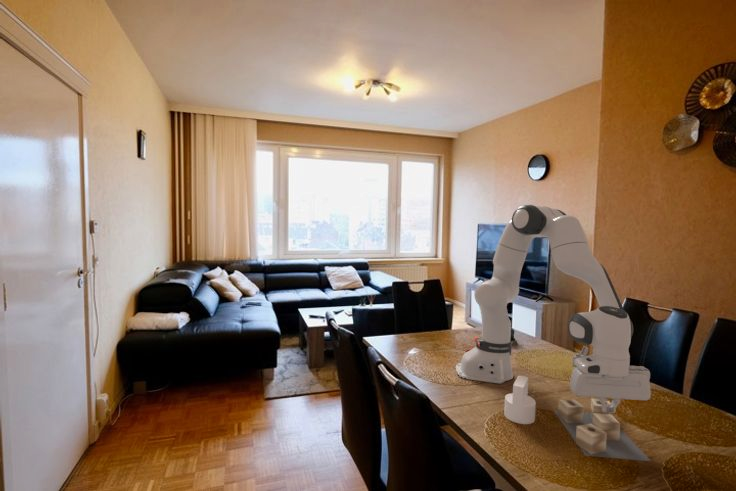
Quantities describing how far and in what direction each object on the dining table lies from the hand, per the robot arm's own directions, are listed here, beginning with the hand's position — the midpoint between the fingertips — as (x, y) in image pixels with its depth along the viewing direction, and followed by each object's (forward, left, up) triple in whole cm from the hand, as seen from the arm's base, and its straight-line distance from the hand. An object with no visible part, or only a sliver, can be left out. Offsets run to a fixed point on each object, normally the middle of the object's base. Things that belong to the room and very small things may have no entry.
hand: (608, 411), depth 108 cm
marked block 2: (+3, +10, -7) cm, 12 cm away
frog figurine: (-10, +85, -8) cm, 86 cm away
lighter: (+16, +57, -8) cm, 60 cm away
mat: (-2, +1, -8) cm, 8 cm away
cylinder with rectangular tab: (-22, +7, -8) cm, 25 cm away
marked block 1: (-7, +8, -7) cm, 13 cm away
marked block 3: (-7, -7, -7) cm, 12 cm away
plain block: (0, 0, -7) cm, 7 cm away
